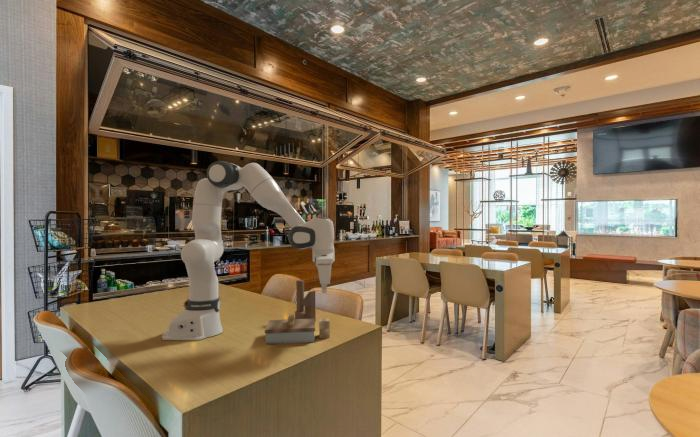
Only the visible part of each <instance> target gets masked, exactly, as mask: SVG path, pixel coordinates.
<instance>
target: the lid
mask: <svg viewBox="0 0 700 437" xmlns="http://www.w3.org/2000/svg"><path fill="white" fill-rule="evenodd" d="M304 331H314V332H316V321H315V318H312V319H295V313H288V316H287V319H270V320H268V322H267V324H266V326H265V329H264V334H266V333H283V332H304Z"/></svg>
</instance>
